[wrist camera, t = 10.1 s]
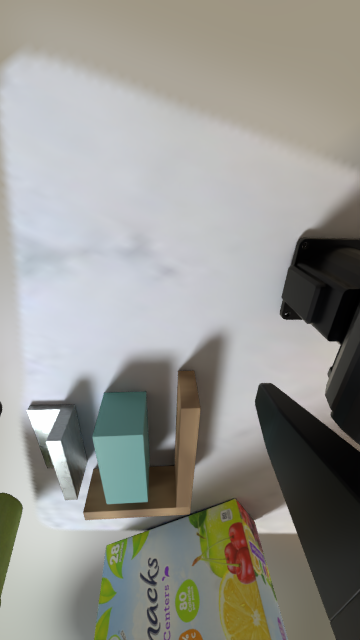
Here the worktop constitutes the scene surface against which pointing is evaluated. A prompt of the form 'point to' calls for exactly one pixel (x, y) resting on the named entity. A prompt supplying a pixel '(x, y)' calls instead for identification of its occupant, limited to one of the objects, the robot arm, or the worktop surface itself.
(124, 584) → the snack box
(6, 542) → the plant pot
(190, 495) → the tan wooden l-shaped piece
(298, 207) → the worktop surface
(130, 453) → the teal rectangular block
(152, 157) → the worktop surface
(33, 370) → the worktop surface
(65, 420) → the bookend
